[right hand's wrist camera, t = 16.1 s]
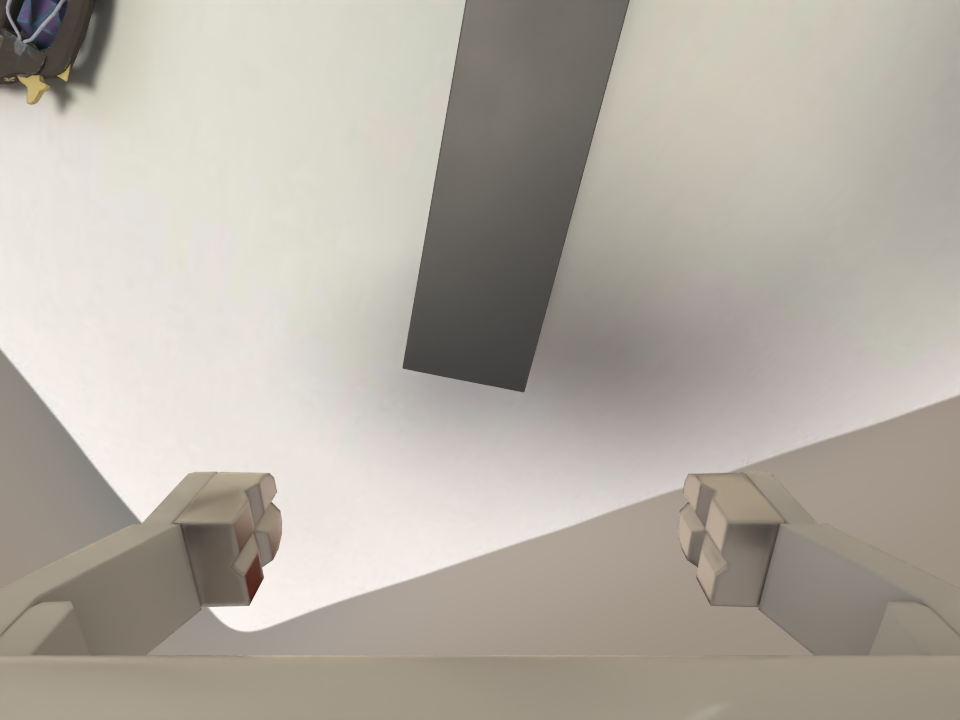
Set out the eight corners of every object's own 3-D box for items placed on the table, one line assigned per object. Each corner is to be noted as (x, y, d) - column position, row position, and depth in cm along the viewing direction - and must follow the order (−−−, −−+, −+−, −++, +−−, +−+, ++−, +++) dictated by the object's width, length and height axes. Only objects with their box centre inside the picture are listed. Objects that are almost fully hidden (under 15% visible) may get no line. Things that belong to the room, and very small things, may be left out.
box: (512, 327, 37) (524, 392, 27) (424, 309, 36) (402, 368, 26) (631, -156, 27) (721, -342, 17) (514, -189, 27) (535, -400, 17)
